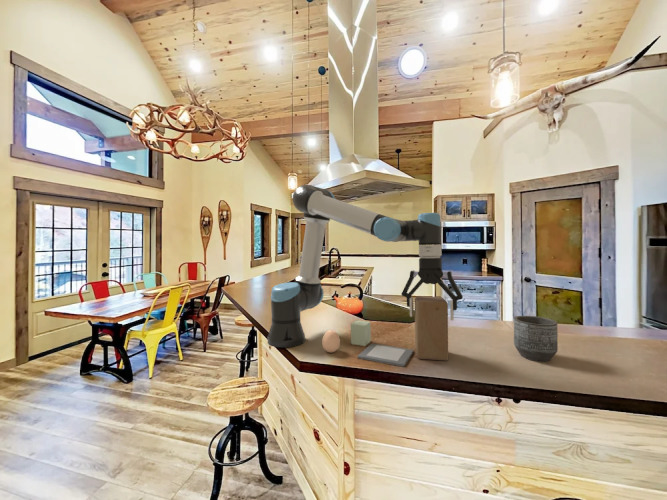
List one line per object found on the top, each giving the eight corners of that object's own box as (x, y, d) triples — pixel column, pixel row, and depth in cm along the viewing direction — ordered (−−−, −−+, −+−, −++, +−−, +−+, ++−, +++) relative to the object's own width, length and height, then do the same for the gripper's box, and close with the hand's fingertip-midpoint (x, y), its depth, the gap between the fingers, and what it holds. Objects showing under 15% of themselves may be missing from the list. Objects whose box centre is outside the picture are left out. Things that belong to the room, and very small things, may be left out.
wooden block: (448, 361, 93) (448, 301, 93) (417, 359, 95) (416, 301, 95) (443, 350, 103) (442, 296, 103) (414, 349, 105) (414, 295, 105)
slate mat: (357, 358, 97) (357, 355, 97) (371, 345, 110) (371, 342, 110) (403, 367, 90) (403, 364, 90) (413, 352, 102) (413, 349, 102)
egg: (327, 347, 108) (327, 327, 108) (343, 350, 105) (342, 329, 105) (318, 353, 102) (318, 331, 102) (335, 356, 99) (335, 334, 99)
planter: (567, 362, 91) (567, 323, 91) (535, 365, 89) (534, 325, 89) (534, 349, 103) (534, 314, 103) (505, 351, 101) (505, 316, 101)
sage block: (351, 343, 112) (350, 323, 111) (357, 339, 117) (356, 320, 117) (365, 346, 109) (364, 325, 109) (370, 341, 114) (370, 321, 114)
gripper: (392, 257, 101) (393, 316, 101) (469, 257, 89) (470, 324, 90) (397, 257, 108) (399, 312, 108) (470, 256, 96) (471, 318, 96)
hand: (431, 317), depth 99 cm, fingers open, 13 cm apart
